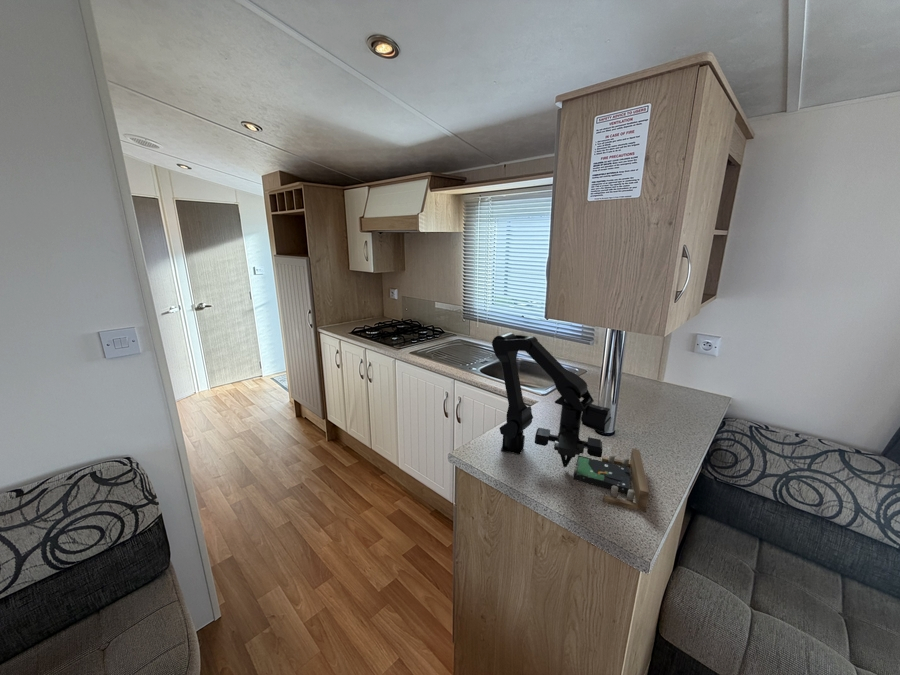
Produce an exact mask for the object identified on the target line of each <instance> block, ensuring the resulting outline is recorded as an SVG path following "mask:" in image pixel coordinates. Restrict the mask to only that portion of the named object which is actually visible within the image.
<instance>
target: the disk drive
mask: <svg viewBox="0 0 900 675" xmlns="http://www.w3.org/2000/svg"><path fill="white" fill-rule="evenodd" d="M572 475H573V476H572V480H573V481H577V480H578V481H577V482H580V483H583V482H584V483H585V484H587V483H588V485H592V486H595V487H597V488H602V489H604V490H605V489H606V490H608V491H611V488H612V486H613V485H614V486H617V487H618V493H619V494H622V495H626V496H627V494H628V490H629V489H631V486H630V485H631V483H630V482H631V479H630V478H631V471H630V467H628V468H626V467H622V466H620V465H615V464H610V463H606V462H602V460H598V459H594V458H590V457H587V456H583V455H577V460H576V463H575V467H574V470H573V474H572ZM618 493H617V494H618Z"/></svg>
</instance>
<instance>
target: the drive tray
mask: <svg viewBox="0 0 900 675" xmlns="http://www.w3.org/2000/svg"><path fill="white" fill-rule="evenodd" d="M630 453H631V454H630V458H629V457H626V456H624V457H623V458H622V459H617V458H615V457H616V456H615V455H614V454H613V453H612V454H609V455H608V457H607V456H603V455H602V457H601V461H602V462H606V463H610V464H614V465H618V466H622V467H626V468H629V469H630V478H631V482H632V489H631V488H630V489H629V490H628V494H627V495H626V499H622V498H618V487H617V486H614V485H613V486H612V488H611V490H610V496H609V495H605V494H603V498H602V499H603V502H604V503H607V504H611V505H614V506H619V507H624V508H627V509H630V510H635V511H639V512H643V513H646V511H647V507H648V501H649V495H650V491H649V490H650V489H649V486H648V481H647V477H646V471H645V468H644V463H643V459H642V455H641V450H640V449H637V448H632V449H631V452H630ZM634 500H635V501H634Z"/></svg>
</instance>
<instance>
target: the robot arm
mask: <svg viewBox="0 0 900 675" xmlns="http://www.w3.org/2000/svg"><path fill="white" fill-rule="evenodd" d="M491 347H492V349H493V351H494V356H495V357H496V358H497V359H498V361H499V362H500V364H501V369H502V375H503V381H504V386H505V392H506V396H507V403H508V407H507V411H506V418H505V419H506V423H504V424H503V425H501V426H500V427H499V432H500V435H502V444H501V448H500V451H502V452H506V453H509V454H510V453H512V454H516V455H521V453H522V451H523V450H524V448H525V439H526V438H525V435H524V430H526V429H527V428H528V427H530V425H531V424H532V422H533V419H534V415H533V413H532V407H531V406H527V405H526V403H525V401H524V397H523V392H522V386H521V380H520V375H519V369H518V363H517V356H518V353H519V352H521V351H522V352H526V353H527V354H528V356H530V358H531V359H533V361H534V362H535V363H536V364H538V366H539V367H540V368H541V369H542V370H543V371H544V372H545V373H546V374H547V375H548V376H549V377H550V379H551V380H552V382H553V383H554V385H555V386H554V387H555V389H556V391H557V392H558V393H559V395H560V397H558V398H557V399H555V400H554V403H555V404H557V405H560V406H561V408H560V409H561V410H560V418H559V427H558V433H557V435H556V434H551V429H549V428H544V427H543V428H542V427H538V428H537V429H536V433H535V436H534V444H536V445H539V446H543V447H544V446H545V447H546V446H547V445H548V444H549V442H552V443H554V445H553V446H554V447H553V450H554V451H557V454H559V456H560V458H561V462H562V467H563V468H567V467H568V465H569V464H570V462H571V460H572V459H573V458H575V457H576V455H577V456H578V455H579V456H581V454H582V455H583V454H584V452H585V450H586V453H587V454H588V455H589V456H591V457H595V458H599V459H600V458H602V456H603V441H602V440H601V439H599V438H593V437H590V436H588V437H587V440H586V441H585V440H582V439H580V431H581V425H583V426H584V427H586V428H589V429H593V430H595V431H597V432H600V433H604V434H607V432H608V431H609V428H610V427H611V426H610V425H611V422H612V414H611V409H610V408H609V407H605V406H600V405H597V404H594V401H595V400H594V399H593V396H592V395H591V393H590V391H589V389H588V383H587V382H586V380H584V379H583V378H582V377H580V376H579V375H577V374H576V373H575V372H572V371H570V370H568V369H566V368H565V367H564V366H563V365H562V364H561V363H560V362H559V360H557V359H556V358H555V357H554V356H553V355H552V354H551V353H550V352H549V351H548V350H547V349H546V348H545V347H544V346H543V345H542V344H541V343H540V341H539V340H538V339H537V337H536V336H533V335H523V334H515V333H513V332H510V331H509V332H504V333H502V334H499V335H497V336H494V338H493V340H492V342H491ZM580 399H582V400H580ZM584 449H585V450H584Z"/></svg>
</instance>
